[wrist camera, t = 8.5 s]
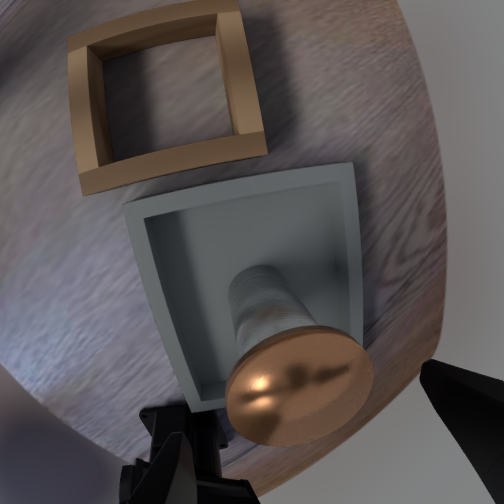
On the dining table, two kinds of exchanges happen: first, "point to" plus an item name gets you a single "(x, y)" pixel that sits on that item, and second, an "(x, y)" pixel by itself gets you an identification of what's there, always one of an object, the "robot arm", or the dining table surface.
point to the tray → (245, 261)
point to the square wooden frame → (146, 36)
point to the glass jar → (289, 365)
